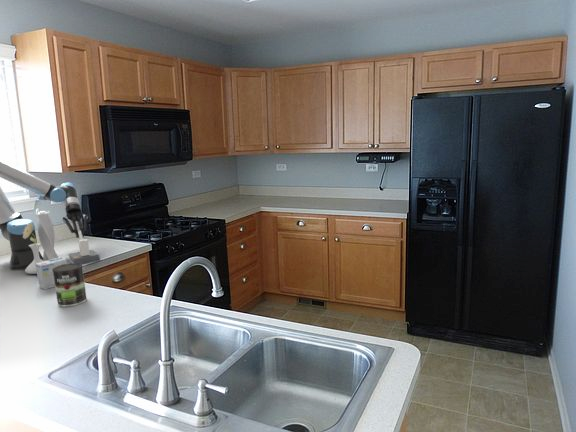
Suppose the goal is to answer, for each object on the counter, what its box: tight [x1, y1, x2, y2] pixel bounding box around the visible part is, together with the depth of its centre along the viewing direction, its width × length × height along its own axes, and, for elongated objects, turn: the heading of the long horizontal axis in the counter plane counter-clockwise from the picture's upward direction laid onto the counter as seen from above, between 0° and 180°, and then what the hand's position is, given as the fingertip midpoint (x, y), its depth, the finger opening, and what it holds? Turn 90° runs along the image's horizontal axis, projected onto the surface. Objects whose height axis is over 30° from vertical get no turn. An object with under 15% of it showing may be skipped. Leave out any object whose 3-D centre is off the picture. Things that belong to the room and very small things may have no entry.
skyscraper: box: [35, 207, 59, 261], centre depth 227 cm, size 8×8×28 cm
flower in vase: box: [23, 223, 44, 275], centre depth 205 cm, size 13×11×25 cm
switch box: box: [68, 249, 100, 265], centre depth 226 cm, size 12×14×3 cm
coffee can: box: [52, 263, 88, 308], centre depth 165 cm, size 10×10×14 cm
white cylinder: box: [77, 238, 90, 256], centre depth 222 cm, size 4×4×8 cm
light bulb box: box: [35, 256, 68, 290], centre depth 188 cm, size 11×7×11 cm, turn 141°
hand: (81, 241), depth 229 cm, fingers closed
